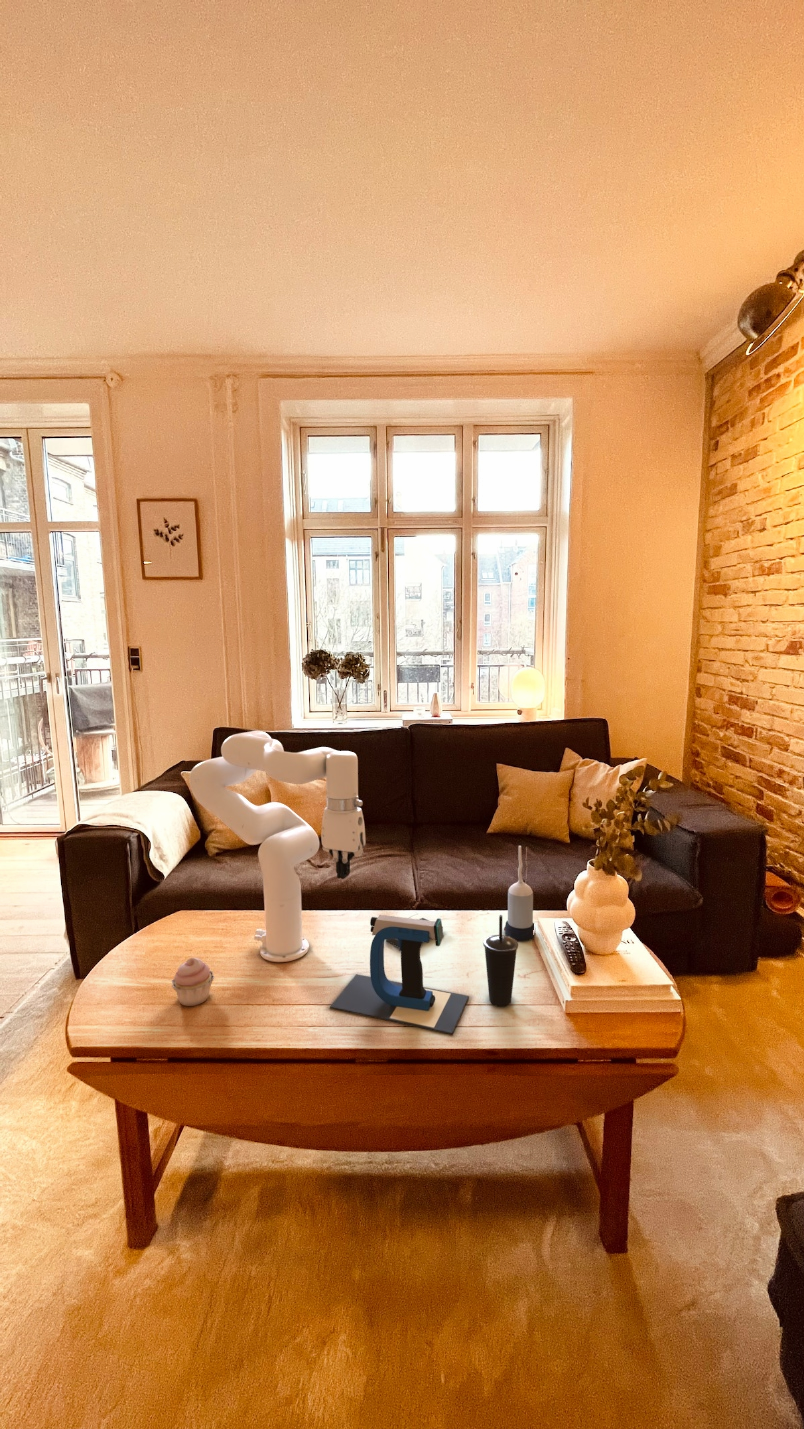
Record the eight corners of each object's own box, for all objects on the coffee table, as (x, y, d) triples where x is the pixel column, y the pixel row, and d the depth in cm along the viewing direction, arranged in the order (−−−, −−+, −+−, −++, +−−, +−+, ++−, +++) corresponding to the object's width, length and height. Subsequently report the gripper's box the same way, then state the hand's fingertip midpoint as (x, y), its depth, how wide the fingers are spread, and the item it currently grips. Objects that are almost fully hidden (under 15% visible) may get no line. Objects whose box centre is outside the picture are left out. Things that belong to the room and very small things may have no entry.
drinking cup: (509, 1015, 130) (510, 926, 127) (477, 1004, 134) (477, 918, 131) (522, 997, 136) (523, 912, 134) (491, 987, 140) (491, 905, 138)
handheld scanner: (440, 1014, 129) (439, 926, 128) (369, 1003, 134) (368, 918, 132) (444, 1002, 134) (444, 917, 132) (375, 992, 138) (374, 910, 136)
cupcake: (163, 1006, 135) (160, 963, 133) (191, 984, 143) (189, 944, 142) (196, 1015, 131) (194, 971, 130) (223, 992, 140) (221, 951, 139)
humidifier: (501, 928, 169) (501, 842, 167) (529, 926, 170) (530, 840, 168) (509, 942, 161) (510, 852, 159) (539, 940, 162) (540, 850, 160)
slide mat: (329, 1008, 133) (329, 1006, 133) (356, 975, 146) (356, 974, 146) (452, 1034, 123) (452, 1032, 123) (468, 997, 136) (468, 995, 136)
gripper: (377, 802, 145) (377, 876, 147) (323, 796, 150) (324, 866, 153) (363, 810, 138) (363, 887, 140) (307, 803, 144) (308, 877, 146)
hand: (343, 876), depth 146 cm, fingers closed
